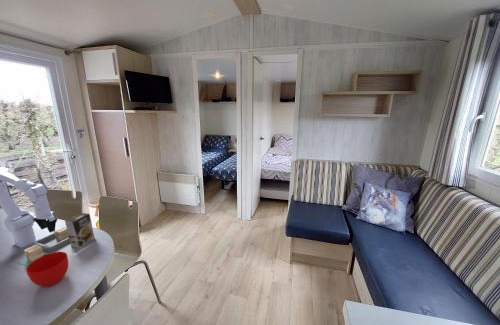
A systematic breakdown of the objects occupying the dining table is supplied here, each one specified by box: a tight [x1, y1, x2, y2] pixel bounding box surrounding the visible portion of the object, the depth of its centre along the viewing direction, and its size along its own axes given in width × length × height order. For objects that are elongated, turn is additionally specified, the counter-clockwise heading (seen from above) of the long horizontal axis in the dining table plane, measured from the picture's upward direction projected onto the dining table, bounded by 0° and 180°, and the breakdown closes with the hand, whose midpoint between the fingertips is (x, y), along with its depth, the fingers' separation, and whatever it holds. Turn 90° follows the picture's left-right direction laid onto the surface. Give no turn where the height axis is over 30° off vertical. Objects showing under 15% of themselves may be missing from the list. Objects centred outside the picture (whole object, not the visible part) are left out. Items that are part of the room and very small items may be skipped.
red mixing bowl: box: [25, 251, 69, 288], centre depth 93 cm, size 13×17×10 cm
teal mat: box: [18, 251, 49, 268], centre depth 106 cm, size 9×9×1 cm
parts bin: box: [32, 232, 70, 253], centre depth 119 cm, size 14×14×3 cm
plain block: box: [53, 226, 69, 242], centre depth 121 cm, size 5×5×6 cm
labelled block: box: [23, 244, 44, 262], centre depth 106 cm, size 5×5×6 cm
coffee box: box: [64, 212, 96, 248], centre depth 117 cm, size 9×6×16 cm
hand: (48, 230), depth 115 cm, fingers open, 7 cm apart
